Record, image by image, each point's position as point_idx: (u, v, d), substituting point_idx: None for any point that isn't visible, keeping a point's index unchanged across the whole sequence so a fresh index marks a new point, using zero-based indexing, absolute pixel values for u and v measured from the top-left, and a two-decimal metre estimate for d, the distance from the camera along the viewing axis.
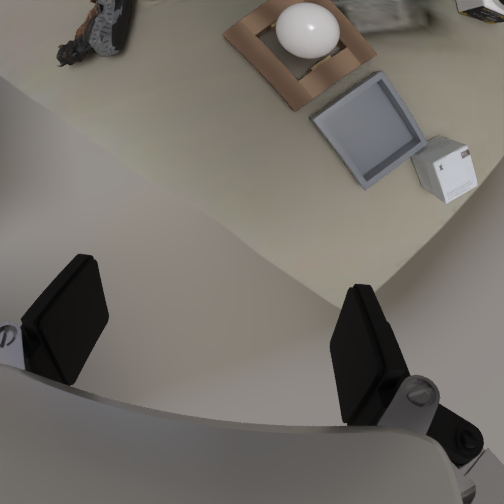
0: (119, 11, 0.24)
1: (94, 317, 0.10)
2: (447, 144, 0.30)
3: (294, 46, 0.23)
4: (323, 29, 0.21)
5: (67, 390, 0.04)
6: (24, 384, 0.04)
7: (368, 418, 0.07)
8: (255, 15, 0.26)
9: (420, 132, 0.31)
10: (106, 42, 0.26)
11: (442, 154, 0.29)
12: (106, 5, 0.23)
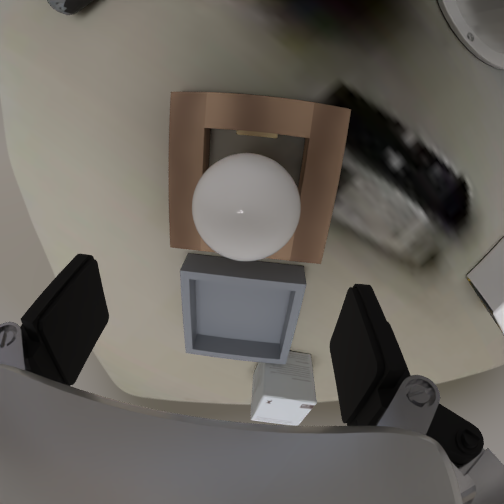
0: None
1: (94, 317, 0.10)
2: (302, 380, 0.31)
3: (196, 225, 0.17)
4: (249, 247, 0.16)
5: (67, 391, 0.04)
6: (24, 384, 0.04)
7: (368, 418, 0.07)
8: (231, 102, 0.19)
9: (286, 353, 0.31)
10: None
11: (283, 392, 0.29)
12: None
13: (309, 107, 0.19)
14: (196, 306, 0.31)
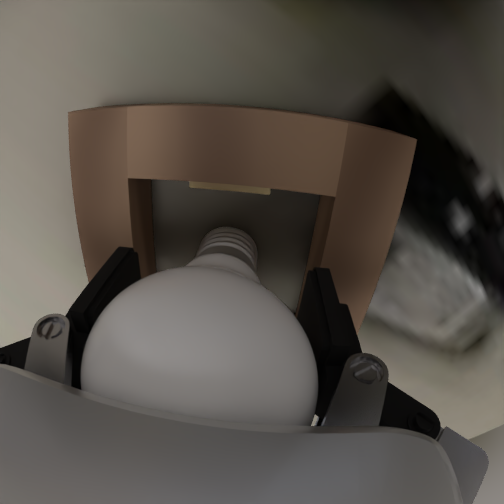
0: None
1: None
2: None
3: None
4: None
5: (67, 391, 0.04)
6: (24, 384, 0.04)
7: (318, 395, 0.07)
8: (174, 124, 0.09)
9: None
10: None
11: None
12: None
13: (338, 132, 0.09)
14: None
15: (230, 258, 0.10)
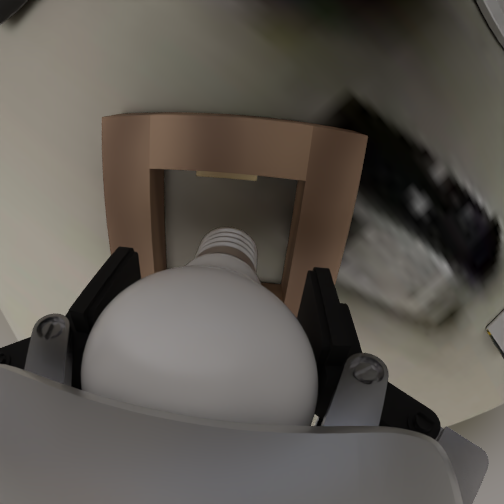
0: None
1: None
2: None
3: None
4: None
5: (67, 391, 0.04)
6: (24, 384, 0.04)
7: (318, 395, 0.07)
8: (186, 128, 0.13)
9: None
10: None
11: None
12: None
13: (305, 133, 0.13)
14: None
15: (230, 258, 0.10)
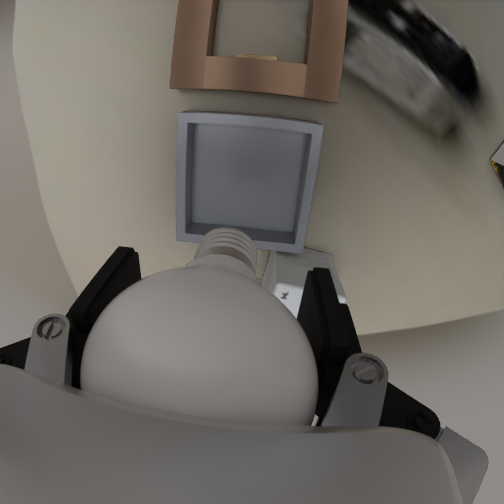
0: None
1: None
2: None
3: None
4: None
5: (67, 391, 0.04)
6: (24, 384, 0.04)
7: (318, 395, 0.07)
8: None
9: (303, 234, 0.25)
10: None
11: (303, 282, 0.24)
12: None
13: None
14: (192, 178, 0.26)
15: (229, 258, 0.10)
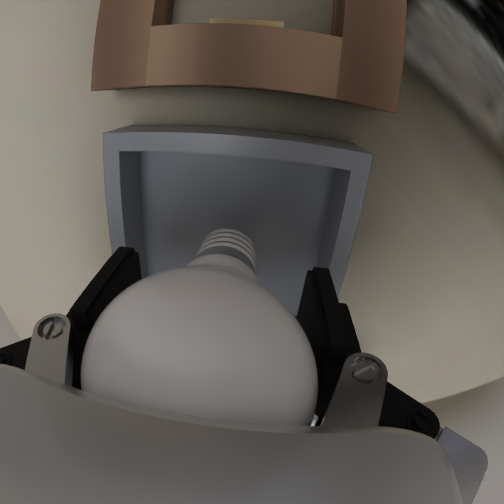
0: None
1: None
2: None
3: None
4: None
5: (67, 391, 0.04)
6: (24, 384, 0.04)
7: None
8: None
9: None
10: None
11: None
12: None
13: None
14: (145, 238, 0.16)
15: (230, 258, 0.10)
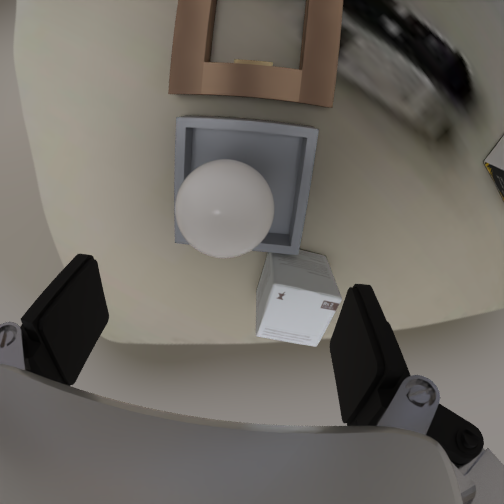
0: None
1: (94, 317, 0.10)
2: (320, 275, 0.26)
3: (178, 224, 0.18)
4: (224, 244, 0.17)
5: (67, 391, 0.04)
6: (24, 384, 0.04)
7: (368, 418, 0.07)
8: None
9: (299, 236, 0.26)
10: None
11: (299, 283, 0.24)
12: None
13: None
14: None
15: None
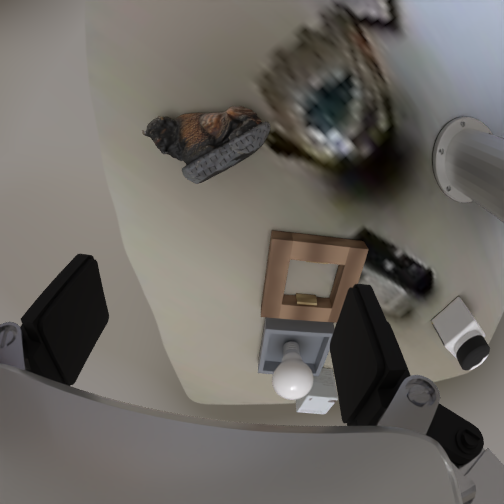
0: (234, 162, 0.32)
1: (94, 317, 0.10)
2: (329, 385, 0.50)
3: (275, 389, 0.42)
4: (295, 399, 0.41)
5: (66, 391, 0.04)
6: (24, 384, 0.04)
7: (368, 418, 0.07)
8: (306, 247, 0.38)
9: (320, 370, 0.49)
10: (197, 179, 0.32)
11: (319, 393, 0.48)
12: (231, 150, 0.30)
13: (346, 250, 0.38)
14: None
15: (296, 354, 0.45)
